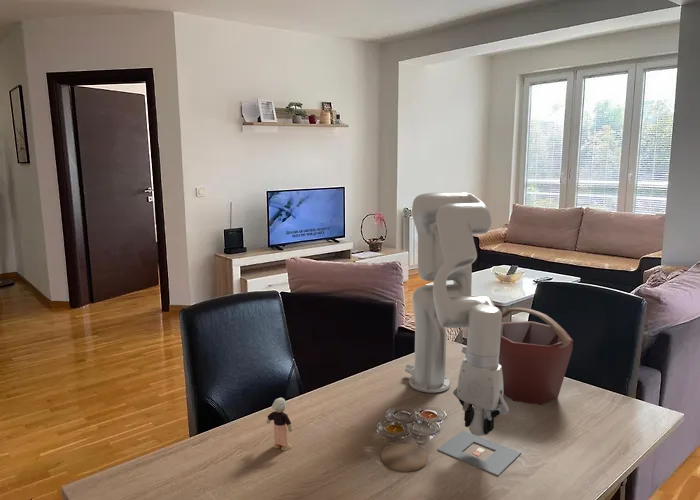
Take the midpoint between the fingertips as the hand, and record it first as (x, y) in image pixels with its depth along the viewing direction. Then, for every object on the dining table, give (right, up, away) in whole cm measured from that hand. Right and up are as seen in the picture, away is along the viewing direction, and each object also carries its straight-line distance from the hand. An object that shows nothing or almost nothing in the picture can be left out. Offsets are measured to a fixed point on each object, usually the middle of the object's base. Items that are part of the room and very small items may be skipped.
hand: (478, 427), depth 130 cm
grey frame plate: (0, -6, 0) cm, 6 cm away
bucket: (+23, 0, +33) cm, 40 cm away
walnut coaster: (-18, -6, -2) cm, 19 cm away
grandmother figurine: (-48, -6, +3) cm, 49 cm away
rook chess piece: (0, -1, 0) cm, 1 cm away
